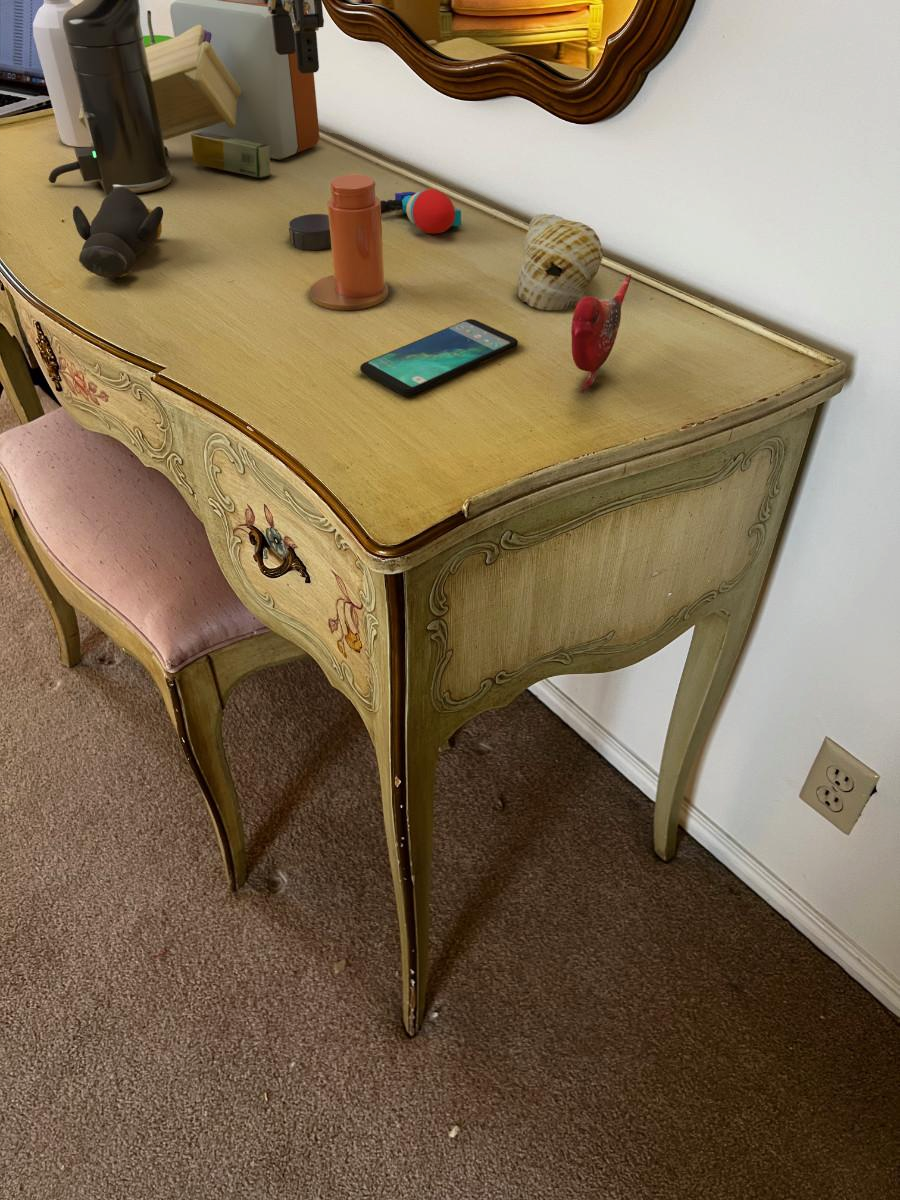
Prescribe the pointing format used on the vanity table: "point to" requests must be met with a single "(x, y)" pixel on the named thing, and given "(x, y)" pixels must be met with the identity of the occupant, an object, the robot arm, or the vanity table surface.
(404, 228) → the vanity table surface
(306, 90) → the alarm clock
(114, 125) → the robot arm
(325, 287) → the coaster
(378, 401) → the vanity table surface
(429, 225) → the toy figure
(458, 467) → the vanity table surface
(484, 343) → the smartphone
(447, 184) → the vanity table surface
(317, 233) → the lid
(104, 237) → the toy
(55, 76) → the soap bottle
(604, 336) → the decorative bird figurine
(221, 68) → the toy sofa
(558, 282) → the seashell
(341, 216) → the jar
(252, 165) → the medication box
